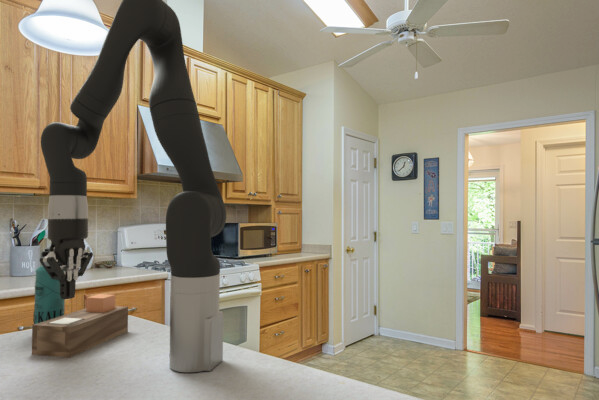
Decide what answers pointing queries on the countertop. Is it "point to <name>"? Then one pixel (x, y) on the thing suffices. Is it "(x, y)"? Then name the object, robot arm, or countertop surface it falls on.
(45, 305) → the beverage bottle
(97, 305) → the terracotta plug
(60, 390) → the countertop surface
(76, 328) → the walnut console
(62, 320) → the white plug
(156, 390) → the countertop surface
